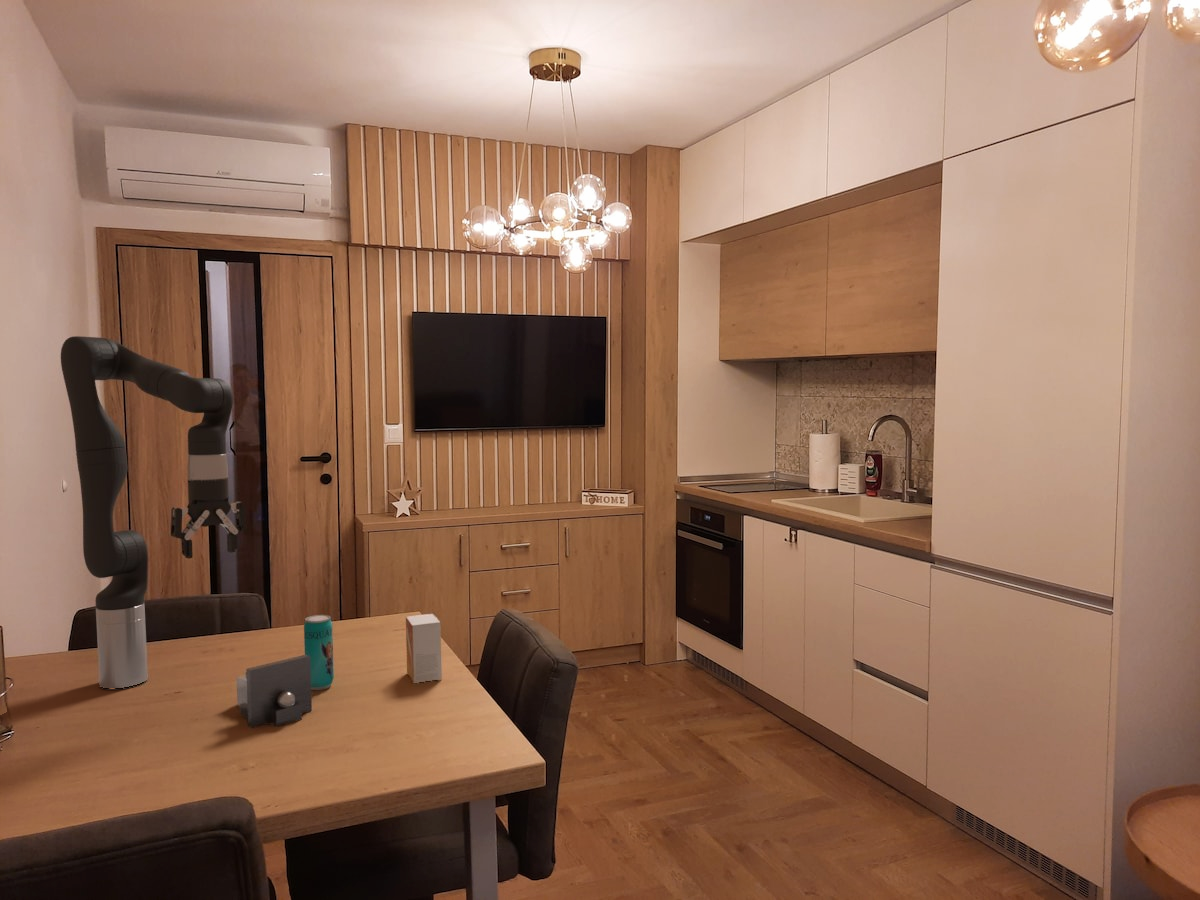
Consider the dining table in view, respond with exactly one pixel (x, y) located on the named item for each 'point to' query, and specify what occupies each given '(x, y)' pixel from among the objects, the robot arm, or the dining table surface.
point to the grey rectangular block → (241, 690)
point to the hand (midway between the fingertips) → (210, 555)
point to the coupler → (278, 692)
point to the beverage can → (319, 650)
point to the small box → (423, 648)
